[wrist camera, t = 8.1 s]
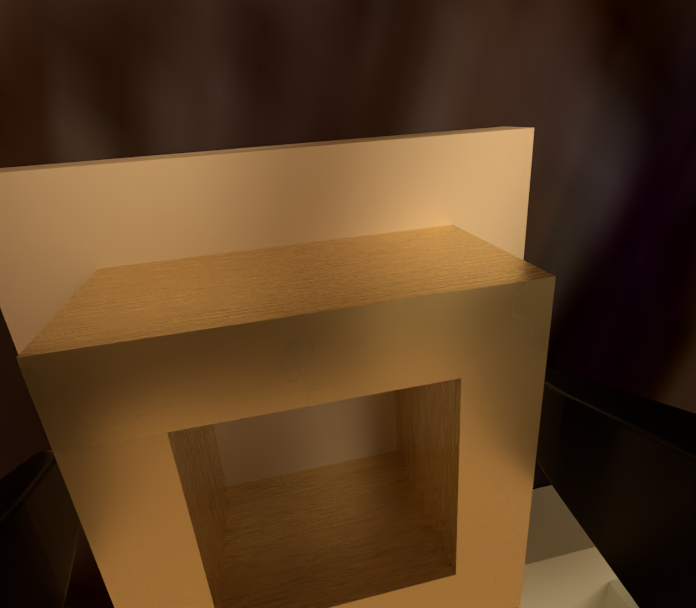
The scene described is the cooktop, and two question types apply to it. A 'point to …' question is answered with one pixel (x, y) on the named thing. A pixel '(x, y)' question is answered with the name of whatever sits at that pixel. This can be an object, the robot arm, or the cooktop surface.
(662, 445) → the robot arm
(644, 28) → the cooktop surface
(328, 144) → the pad
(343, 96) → the cooktop surface
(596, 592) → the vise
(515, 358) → the collar
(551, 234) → the cooktop surface
